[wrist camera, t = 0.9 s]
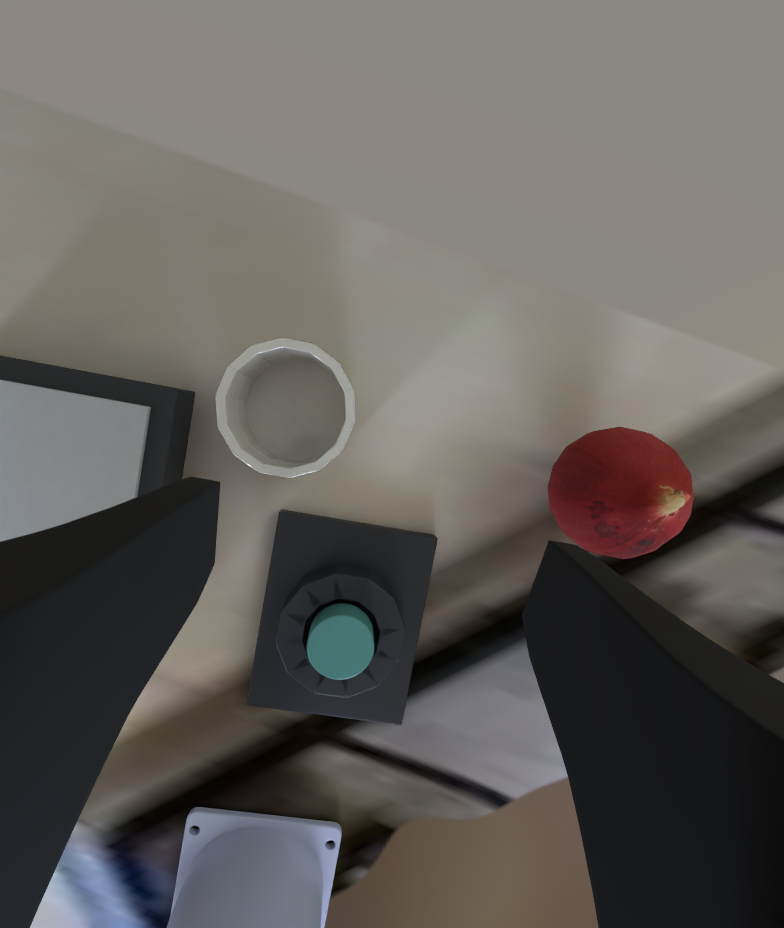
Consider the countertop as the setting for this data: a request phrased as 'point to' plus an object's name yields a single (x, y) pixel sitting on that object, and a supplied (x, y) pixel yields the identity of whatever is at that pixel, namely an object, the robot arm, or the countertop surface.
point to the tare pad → (332, 582)
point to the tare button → (340, 641)
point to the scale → (82, 443)
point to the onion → (620, 492)
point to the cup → (285, 407)
